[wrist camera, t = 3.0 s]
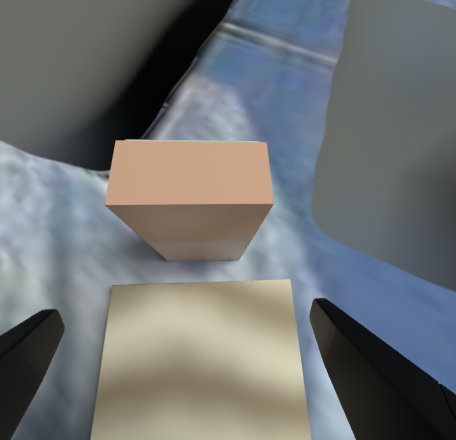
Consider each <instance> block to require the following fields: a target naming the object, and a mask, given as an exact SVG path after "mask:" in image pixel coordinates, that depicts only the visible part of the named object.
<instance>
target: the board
mask: <svg viewBox="0 0 456 440" xmlns="http://www.w3.org/2000/svg"><path fill="white" fill-rule="evenodd" d="M90 440H311V432H310V425H309V417H308V410H307V402H306V395H305V387H304V380H303V372H302V365H301V357H300V350H299V342H298V335H297V327H296V320H295V312H294V305H293V297H292V290H291V282H290V279H286V280H256V281H227V282H197V283H167V284H137V285H112V291H111V298H110V305H109V312H108V319H107V326H106V333H105V340H104V347H103V354H102V361H101V368H100V375H99V383H98V390H97V397H96V404H95V411H94V418H93V425H92V432H91V439H90Z"/></svg>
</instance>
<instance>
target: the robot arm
mask: <svg viewBox="0 0 456 440" xmlns="http://www.w3.org/2000/svg"><path fill="white" fill-rule="evenodd" d="M310 322H311V325H312V328H313V331H314V334H315V338H316V341H317V344H318V347H319V350H320V353H321V356H322V359H323V362H324V365H325V368H326V370H327V373H328V375H329V377H330V380H331V382H332V384H333V387H334V389H335V391H336V394H337V396H338V398H339V401H340V403H341V405H342V408H343V410H344V412H345V415H346V417H347V420H348V422H349V424H350V427H351V429H352V431H353V434H354V436H355V438H356V440H456V394H454V393H453V392H452V391H450V390H449V389H448V388H446V387H445V386H443V385H442V384H439V383H438V381H437V380H435V379H434V378H433V377H431V376H430V375H429V374H427V373H426V372H424V371H423V370H422V369H420V368H419V367H418V366H416V365H415V364H414V363H412V362H411V361H410V360H408V359H407V358H406V357H404V356H403V355H402V354H400V353H399V352H397V351H396V350H395V349H393V348H392V347H391V346H389V345H388V344H387V343H385V342H384V341H383V340H381V339H380V338H379V337H377V336H376V335H375V334H373V333H372V332H370V331H369V330H368V329H366V328H365V327H364V326H362V325H361V324H360V323H358V322H357V321H356V320H354V319H353V318H352V317H350V316H349V315H348V314H346V313H345V312H343V311H342V310H341V309H339V308H338V307H337V306H335V305H334V304H333V303H331V302H330V301H329V300H327V299H325V298H315V299H314V300H313V302H312V307H311V311H310ZM64 330H65V326H64V323H63V321H62V318H61V316H60V313H59V311H58V310H56V309H45V310H41V311H39V312H38V313H36V314H35V315H33V316H31V317H30V318H28V319H26V320H25V321H23V322H22V323H20V324H18V325H17V326H15V327H14V328H12V329H10V330H9V331H7V332H6V333H4V334H2V335H1V336H0V440H10V439H11V437H12V436H13V434H14V432H15V430H16V428H17V427H18V425H19V423H20V421H21V419H22V417H23V416H24V414H25V412H26V410H27V408H28V407H29V405H30V403H31V401H32V399H33V397H34V396H35V394H36V392H37V390H38V388H39V386H40V384H41V382H42V380H43V378H44V376H45V374H46V372H47V370H48V367H49V365H50V363H51V361H52V358H53V356H54V354H55V352H56V349H57V347H58V345H59V343H60V340H61V338H62V336H63V333H64Z"/></svg>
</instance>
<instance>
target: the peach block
mask: <svg viewBox="0 0 456 440" xmlns="http://www.w3.org/2000/svg"><path fill="white" fill-rule="evenodd" d="M273 204H274V200H273V192H272V184H271V176H270V168H269V159H268V151H267V143H265V142H259V141H189V140H125V141H116V144H115V149H114V155H113V160H112V166H111V171H110V177H109V183H108V189H107V194H106V200H105V206H106V207H107V208H109V209H110V210H111V211H112V212H113V213H114V214H115V215H116V216H118V217H119V218H120V219H121V220H122V221H123V222H124V223H125V224H127V225H128V226H129V227H130V228H131V229H132V230H133V231H134V232H136V233H137V234H138V235H139V236H140V237H141V238H142V239H144V240H145V241H146V242H147V243H148V244H149V245H150V246H151V247H153V248H154V249H155V250H156V251H157V252H158V253H159V254H160V255H162V256H163V257H164V258H165V259H166V260H167V261H168V262H178V261H216V260H239V259H240V258H241V256H242V255H243V253H244V251H245V250H246V248H247V246H248V245H249V243H250V242H251V240H252V238H253V237H254V235H255V233H256V232H257V230H258V229H259V227H260V225H261V224H262V222H263V220H264V219H265V217H266V216H267V214H268V212H269V211H270V209H271V208H272V206H273Z"/></svg>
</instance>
